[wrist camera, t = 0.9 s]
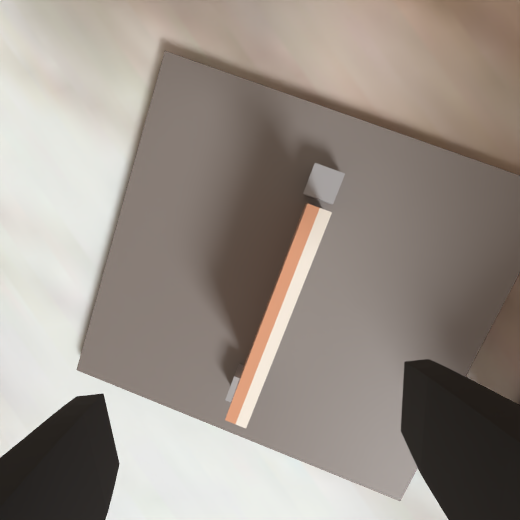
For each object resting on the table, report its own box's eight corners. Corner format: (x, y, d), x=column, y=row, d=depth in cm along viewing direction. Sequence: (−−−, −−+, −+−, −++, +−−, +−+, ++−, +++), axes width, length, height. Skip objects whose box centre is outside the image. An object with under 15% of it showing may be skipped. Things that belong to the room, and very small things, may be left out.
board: (549, 191, 19) (587, 189, 16) (395, 488, 23) (407, 524, 20) (171, 58, 20) (152, 37, 18) (85, 362, 24) (60, 382, 21)
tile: (322, 209, 19) (332, 212, 14) (261, 365, 21) (246, 428, 15) (305, 202, 20) (307, 203, 14) (245, 360, 21) (224, 419, 16)
